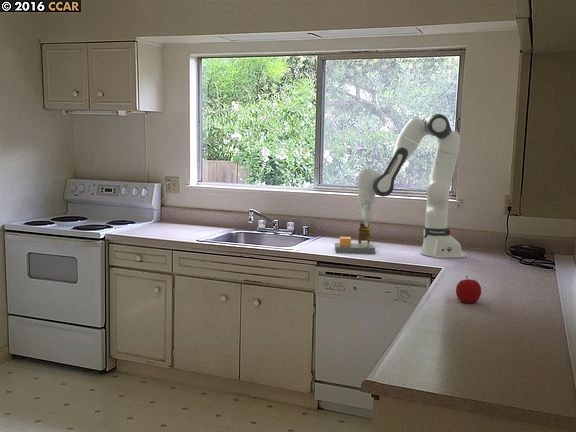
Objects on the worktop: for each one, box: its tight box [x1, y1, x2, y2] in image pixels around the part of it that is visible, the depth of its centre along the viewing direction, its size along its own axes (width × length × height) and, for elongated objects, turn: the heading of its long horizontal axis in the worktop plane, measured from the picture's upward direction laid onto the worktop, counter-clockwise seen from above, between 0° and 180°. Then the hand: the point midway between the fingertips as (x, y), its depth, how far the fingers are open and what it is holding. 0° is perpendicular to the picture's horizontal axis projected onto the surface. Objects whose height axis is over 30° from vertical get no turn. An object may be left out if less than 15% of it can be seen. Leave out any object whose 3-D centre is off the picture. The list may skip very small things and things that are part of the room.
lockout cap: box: [338, 236, 352, 246], centre depth 323 cm, size 6×6×4 cm
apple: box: [455, 275, 482, 304], centre depth 231 cm, size 9×9×10 cm
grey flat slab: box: [334, 242, 376, 255], centre depth 323 cm, size 20×12×4 cm, turn 88°
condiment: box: [357, 222, 371, 244], centre depth 341 cm, size 7×8×12 cm
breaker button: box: [361, 241, 368, 246], centre depth 323 cm, size 3×3×5 cm
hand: (366, 226), depth 321 cm, fingers closed
